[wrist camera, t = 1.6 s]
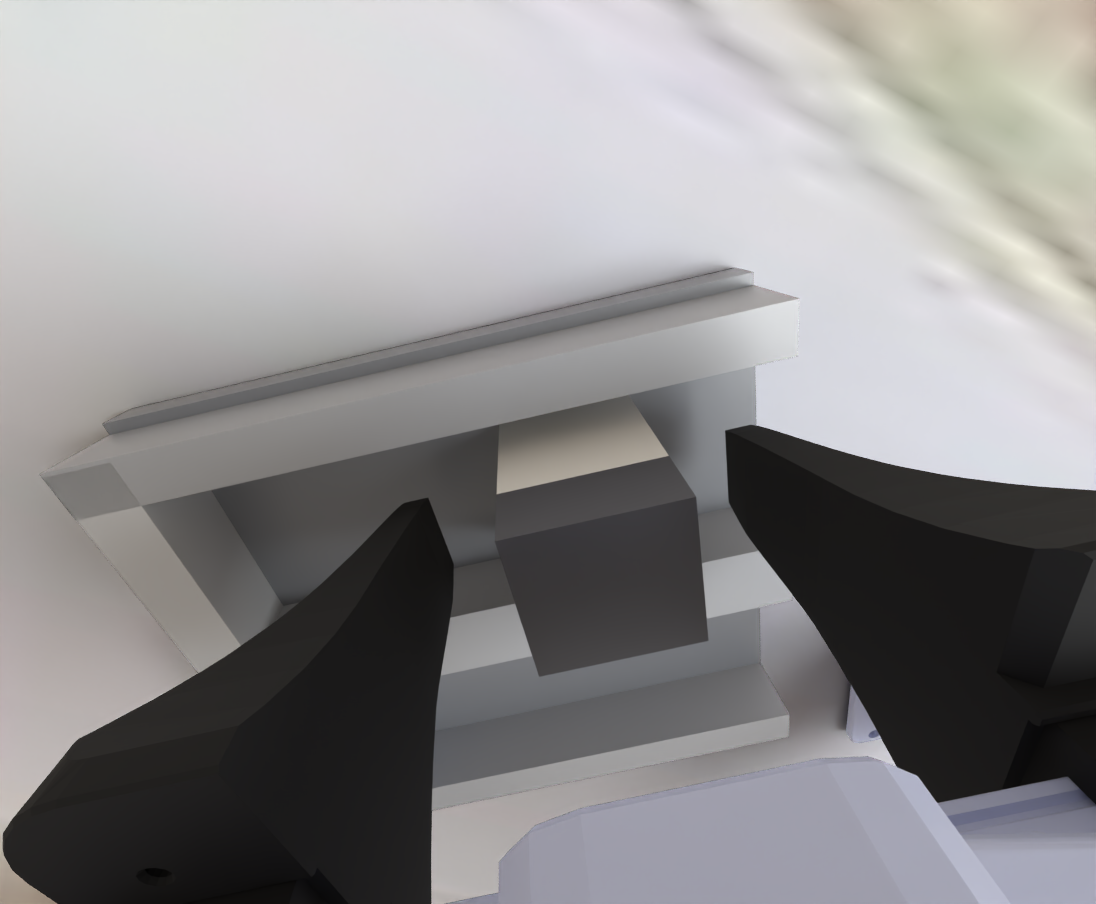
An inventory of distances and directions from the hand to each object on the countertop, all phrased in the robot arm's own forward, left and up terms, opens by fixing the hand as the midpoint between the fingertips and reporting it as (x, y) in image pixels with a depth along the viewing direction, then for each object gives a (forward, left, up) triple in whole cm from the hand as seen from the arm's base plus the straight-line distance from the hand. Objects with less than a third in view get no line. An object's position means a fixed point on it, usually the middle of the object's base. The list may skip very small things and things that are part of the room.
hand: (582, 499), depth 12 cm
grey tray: (+3, +4, -3) cm, 5 cm away
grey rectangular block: (0, 0, -2) cm, 2 cm away
